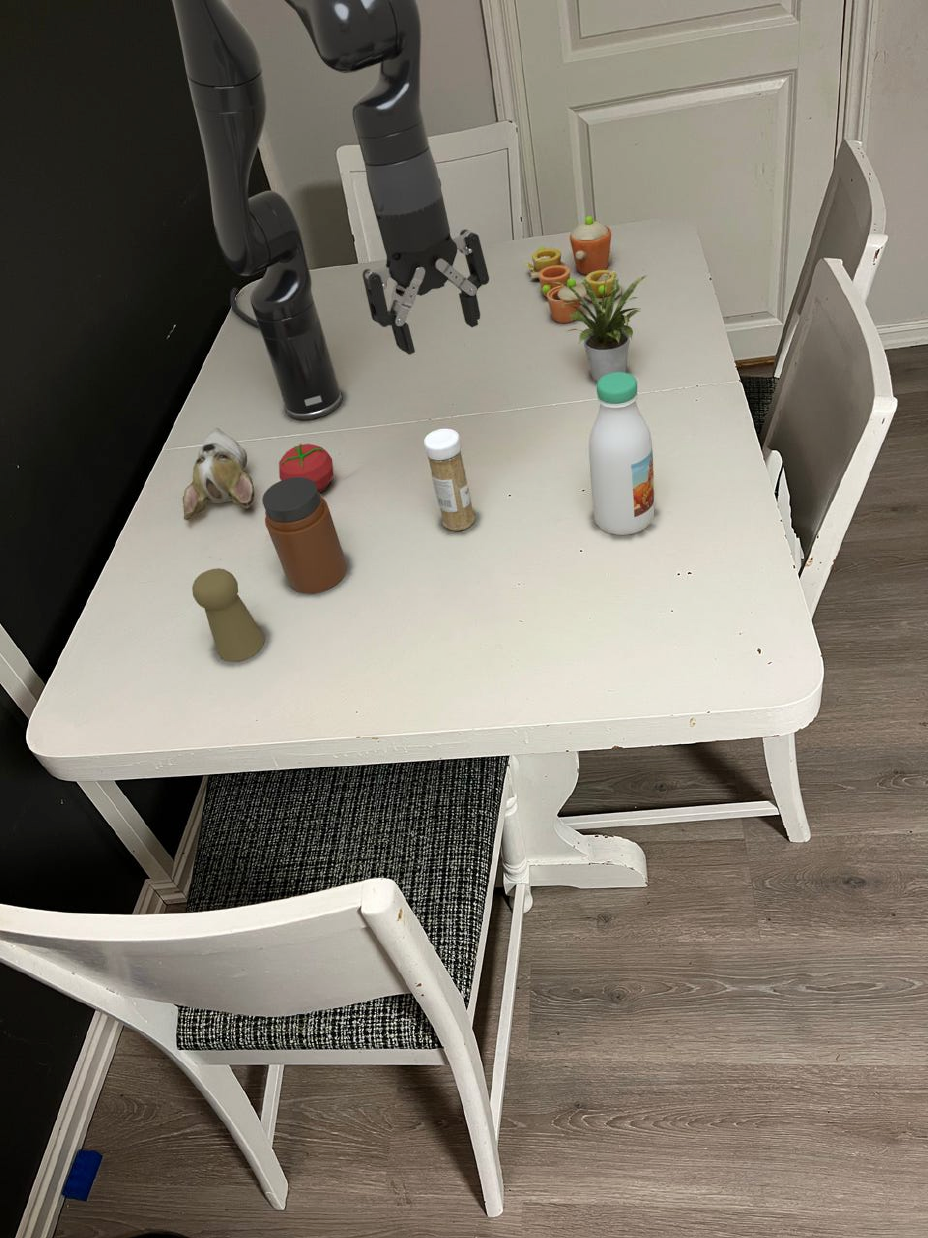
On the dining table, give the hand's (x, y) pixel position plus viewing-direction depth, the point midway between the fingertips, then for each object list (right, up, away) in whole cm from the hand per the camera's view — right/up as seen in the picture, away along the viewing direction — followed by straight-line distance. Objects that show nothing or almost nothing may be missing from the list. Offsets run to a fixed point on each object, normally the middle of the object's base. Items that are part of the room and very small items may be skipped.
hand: (440, 338), depth 112 cm
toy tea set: (+23, +26, +58) cm, 67 cm away
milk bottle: (+23, -20, +10) cm, 33 cm away
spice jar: (+2, -20, +15) cm, 25 cm away
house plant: (+24, +4, +36) cm, 43 cm away
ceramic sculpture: (-32, -15, +29) cm, 46 cm away
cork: (-25, -36, +5) cm, 44 cm away
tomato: (-19, -14, +26) cm, 36 cm away
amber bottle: (-16, -27, +12) cm, 34 cm away
